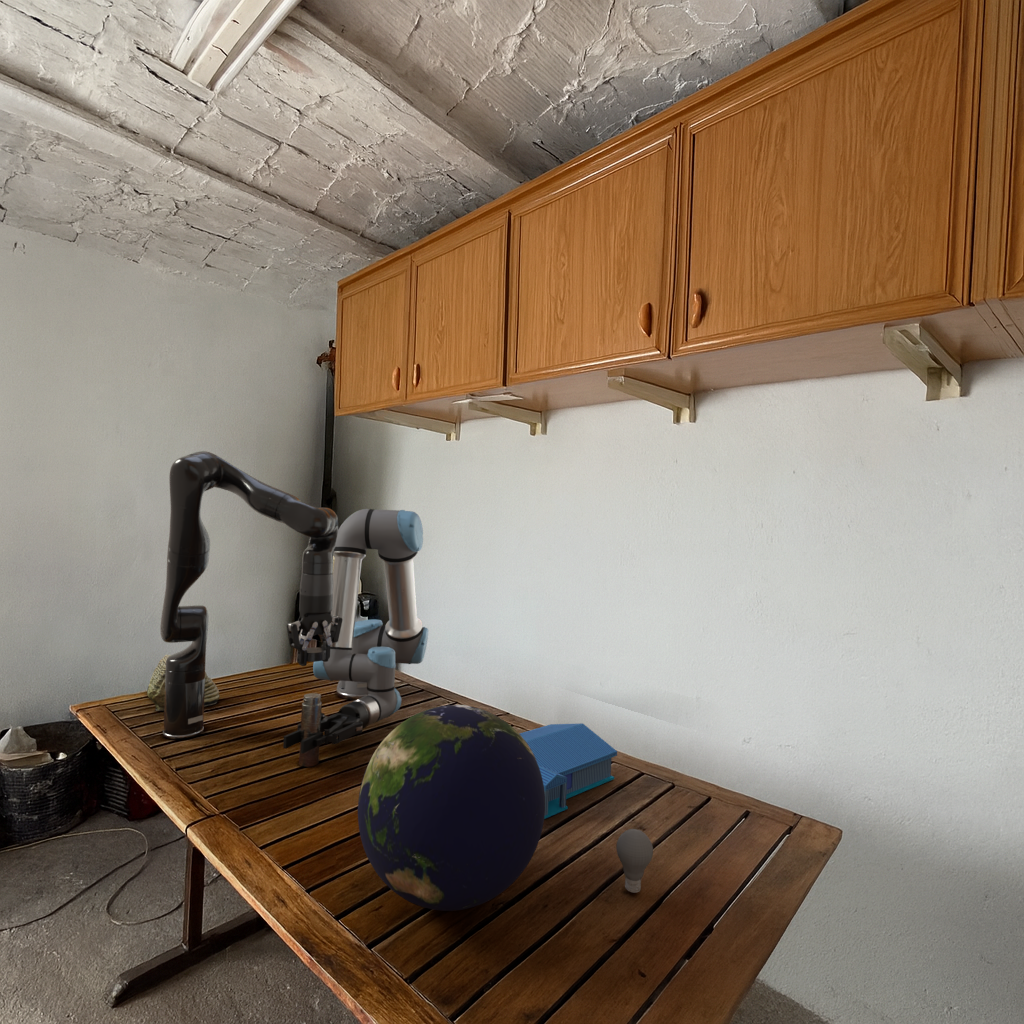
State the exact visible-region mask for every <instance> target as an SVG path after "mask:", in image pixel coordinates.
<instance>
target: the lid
mask: <svg viewBox="0 0 1024 1024" xmlns="http://www.w3.org/2000/svg"><path fill="white" fill-rule="evenodd" d="M306 650H307V663H308V662H311V663H314V662H317V661H322V660H325V659H326V649H324V648H321V647H320V646H319V647H318V646H317V647H314V646H313V647H307V649H306Z"/></svg>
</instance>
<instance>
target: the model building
mask: <svg viewBox="0 0 1024 1024" xmlns="http://www.w3.org/2000/svg"><path fill="white" fill-rule="evenodd" d="M519 734H520V735H521V736H522V738H523V739H524V740H525V741H526V742H527V744H528V746H529V747H530V749H531V750H532V752H533V754H534V756H535V758H536V761H537V764H538V766H539V769H540V772H541V775H542V780H543V785H544V792H545V817H544V820H546V819H549V818H550V817H552V816H555V815H558V814H559V813H562V812H563V811H566V810H568V809H569V806H567V800H568V799H570V798H572V797H575V796H577V795H580V794H582V793H585V792H587V791H589V790H591V789H594V788H597V787H599V786H601V785H603V784H606V783H609V782H610V781H613V780H615V776H614V775H612V758H614V757H617V756H618V751H617V750H616V749H615V748H614V747H612V746H611V745H610V744H609V743H608V742H607V741H605V740H604V739H603V738H602V737H600V736H599V734H597V733H595V732H594V731H593V730H592V729H590V727H588V726H587V725H586V724H584V723H583V722H581V723H550V724H548V725H547V724H546V725H544V726H543V725H542V726H540V727H537V728H533V729H530V730H526V731H524V732H520V733H519Z"/></svg>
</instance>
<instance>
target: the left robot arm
mask: <svg viewBox="0 0 1024 1024" xmlns="http://www.w3.org/2000/svg"><path fill="white" fill-rule="evenodd" d="M168 479H169V481H168V482H169V499H170V500H169V504H170V518H169V534H168V542H167V554H166V576H165V577H166V579H165V591H164V597H163V603H162V611H161V618H160V626H159V631H160V637H161V640H162V641H163V642H165V643H169V644H176V643H177V644H178V643H189V642H191V643H190V645H188V646H187V647H186V648H184V649H183V650H180V651H179V652H178V651H177V652H175V653H173V654H170V655H171V656H169V657H168V658H167V660H166V674H165V705H164V710H163V730H162V737H164V738H166V739H169V740H185V739H190V738H191V739H192V738H194V737H197V736H199V735H202V734H203V732H204V730H205V729H204V726H205V725H204V722H205V721H204V718H205V706H204V693H205V672H206V664H207V663H206V660H207V659H206V658H207V657H206V656H207V640H208V631H209V630H208V629H209V611H208V609H207V607H206V606H205V605H199V604H198V605H197V604H195V605H180V603H181V601H182V600H183V597H184V596H185V594H186V593H187V591H188V590H189V589H190V588H191V587H192V586H193V585H194V584H195V583H196V582H197V581H198V580H199V579H200V578H201V576H202V575H203V574H204V573H205V571H206V569H207V568H208V565H209V559H210V549H211V538H210V536H209V535H210V534H209V533H208V531H207V528H206V527H205V525H204V523H203V521H202V518H201V509H202V501H203V496H204V493H205V492H207V491H209V490H211V489H214V488H217V489H221V490H224V491H228V492H231V493H232V494H235V495H236V496H238V497H239V498H240V499H242V500H243V501H244V503H246V504H247V505H248V507H249V508H251V509H252V510H253V511H254V512H256V513H258V514H260V515H262V516H264V517H267V518H269V519H271V520H273V521H276V522H278V523H281V524H284V525H286V526H287V527H289V528H290V529H292V530H293V531H295V532H297V533H298V534H300V535H302V536H305V537H307V538H308V543H307V544H308V545H307V547H306V548H305V549H304V550H303V552H302V559H301V561H302V562H301V576H300V583H299V602H298V603H299V606H298V612H299V617H298V619H297V620H296V621H294V622H291V621H289V622H287V623H286V631H287V638H288V643H289V647H290V648H293V649H296V650H297V657H296V663H298V665H299V666H301V667H306V666H307V664H308V661H307V650H306V649H307V648H308V646H309V643H310V642H311V641H312V639H313V637H315V636H317V635H318V637H319V639H320V642H321V646H320V648H324V649H326V659H325V660H322V661H324V662H327V661H328V659H329V658H330V647H331V645H332V643H334V642H338V639H339V635H340V630H341V625H342V621H343V619H342V618H340V617H336V616H334V617H332V615H331V611H332V607H333V570H334V556H333V553H334V549H335V545H336V540H337V535H338V530H339V518H338V515H337V514H336V512H335V510H333V509H331V508H330V507H323V506H322V507H316V506H313V505H311V504H307V503H305V502H304V501H301V500H300V499H299V498H298V497H296V496H295V495H293V494H291V493H289V492H286V491H284V490H282V489H279V488H276V487H274V486H272V485H269V484H267V483H265V482H264V481H261V480H259V479H257V478H256V477H253V476H251V475H250V474H248V473H246V472H245V471H243V470H241V469H239V468H238V467H237V466H234V465H233V464H231V463H230V462H228V461H227V460H225V459H223V458H222V457H220V456H218V455H217V454H215V453H213V452H210V451H205V450H202V451H201V450H200V451H196V452H192V453H189V454H187V455H183V456H181V457H179V458H177V459H176V460H174V461H173V462H172V465H171V466H170V469H169V478H168ZM330 623H331V628H330V631H329V628H328V626H329V625H330ZM299 631H300V632H299ZM148 688H149V685H148V686H147V689H146V695H147V694H148Z"/></svg>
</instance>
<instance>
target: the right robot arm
mask: <svg viewBox="0 0 1024 1024" xmlns="http://www.w3.org/2000/svg"><path fill="white" fill-rule="evenodd" d="M423 544H424V530H423V523H422V520H421V517H420V516H419V514H418V513H417V512H415V511H411V510H405V509H399V510H397V509H377V508H375V509H374V508H362V509H359V510H356V511H355V512H353V513H352V514H350V515H349V516H348V517H347V518H346V519H345V520H344V521H343V522H342V524H341V525H340V526H339V527H338V535H337V540H336V545H335V549H334V553H333V558H334V560H333V607H332V611H331V615H332V617H334V616H336V617H340V618H342V619H343V621H342V625H341V630H340V635H339V639H338V642H334V643H332V645H331V647H330V658H329V659H328V661H327V662H324V661H317V662H312V663H313V664H312V672H313V676H314V677H315V678H316V679H318V680H324V681H330V682H333V681H338V682H337V685H336V695H337V696H338V698H342V699H345V700H352V701H350V702H349V703H346V704H344V705H342V706H341V707H340V708H339V710H338V711H337V712H336V713H334V714H330V716H326V715H325V713H324V712H321V728H320V732H319V733H317V734H315V735H313V736H311V737H309V738H306V739H304V740H302V741H301V753H305V752H307V751H309V750H311V749H313V748H315V747H317V746H320V747H321V746H322V745H324V744H325V745H327V744H330V743H331V745H338V744H339V743H342V742H344V741H346V740H347V739H350V738H351V737H354V736H356V735H359V734H362V733H363V730H364V729H366V728H367V727H370V726H371V725H373V724H375V723H378V722H380V721H382V720H384V719H387V718H389V717H390V716H392V715H394V714H395V713H397V712H398V711H399V709H400V708H401V706H402V696H401V694H400V692H399V690H397V688H395V682H396V677H395V676H396V667H397V664H403V665H418V664H421V663H422V662H423V661H424V658H425V654H426V650H427V644H428V639H429V628H428V627H426V626H423V622H422V620H421V619H420V618H419V617H418V613H417V612H418V611H417V597H416V595H417V594H416V582H415V581H416V580H415V566H414V565H415V564H414V559H415V558H416V557H417V556H418V554H419V552H420V551H421V550H422V549H423ZM367 550H377V553H378V554H377V555H378V557H379V559H380V560H381V561H383V563H384V564H383V565H384V576H385V585H386V597H387V609H388V619H389V620H388V621H387V622H386V624H385V625H383V624H384V623H383V621H382V620H381V619H375V618H374V619H363V620H357V621H356V616H357V608H358V607H357V606H358V598H359V588H360V581H361V580H360V579H361V571H362V561H363V559H365V558H366V557H367ZM328 628H329V631H330V628H331V623H330V625H329V626H328ZM300 733H301V722H300V723H298V724H297V729H296V731H293V732H291V733H289V734H286V735H284V736H283V746H282V748H283V749H285V750H286V749H289V748H291V747H293V746H295V745H297V744H300Z"/></svg>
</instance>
